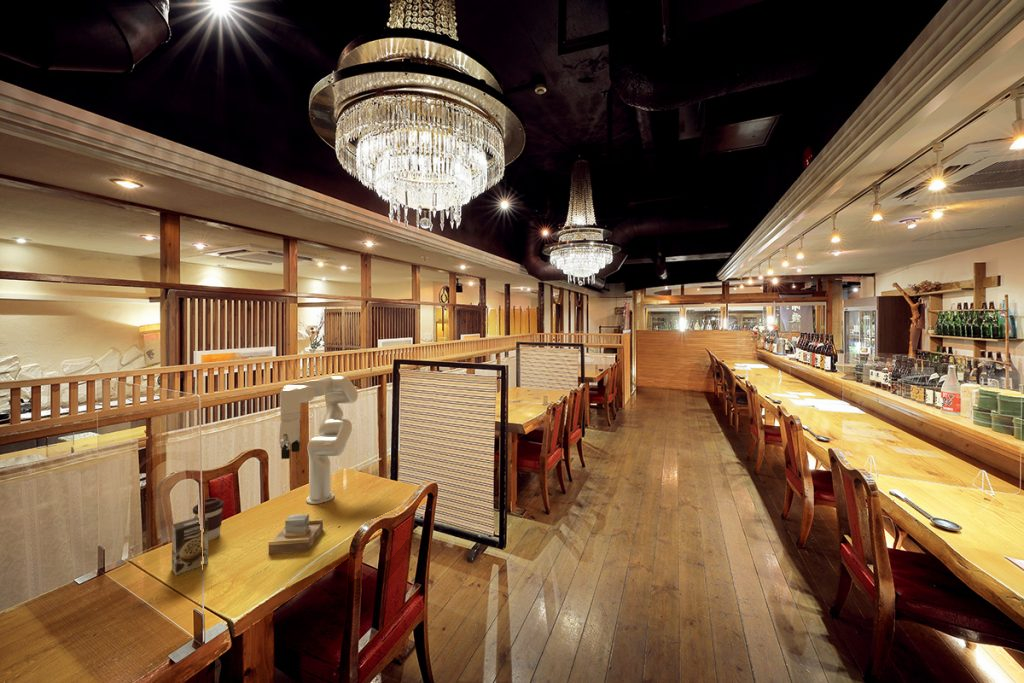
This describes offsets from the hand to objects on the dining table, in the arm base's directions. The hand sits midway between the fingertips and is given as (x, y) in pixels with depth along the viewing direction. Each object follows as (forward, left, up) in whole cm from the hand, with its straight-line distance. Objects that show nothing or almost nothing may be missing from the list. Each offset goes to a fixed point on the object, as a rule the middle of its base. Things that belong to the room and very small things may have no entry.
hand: (290, 454), depth 164 cm
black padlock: (+16, +9, -27) cm, 32 cm away
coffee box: (+28, -22, -31) cm, 47 cm away
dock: (+16, +9, -30) cm, 35 cm away
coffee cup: (+8, -28, -31) cm, 42 cm away
